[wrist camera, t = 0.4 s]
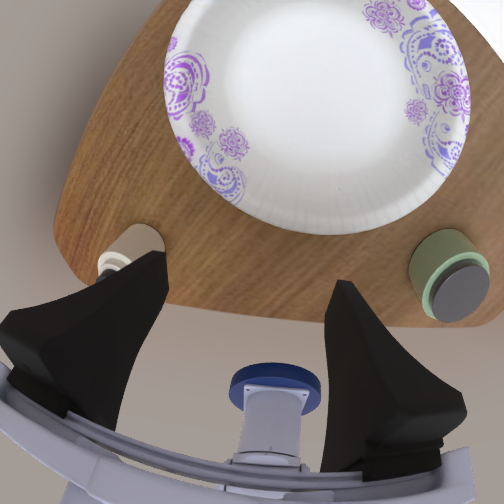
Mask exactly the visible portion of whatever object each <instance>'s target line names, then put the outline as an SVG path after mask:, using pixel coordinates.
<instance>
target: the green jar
mask: <svg viewBox="0 0 504 504" xmlns="http://www.w3.org/2000/svg"><path fill="white" fill-rule="evenodd" d="M409 278H410V281H411V283H412V285H413V288H414V290H415V292H416V294H417V296H418V298H419V300H420V303H421V305H422V307H423V309H424V311H425V313H426V314H427V315H428V316H430V317H431V318H434V319H437V320H439V321H441V322H445V323H451V322H456V321H459V320H461V319H463V318H465V317H467V316H468V315H470V314H471V313H472V312H473V311H475V310H476V309H477V308H478V307H479V305H480V304H481V303H482V301H483V300H484V298H485V296H486V294H487V292H488V288H489V265H488V262H487V260H486V259H485V257H484V256H483V255H482V254H481V253H480V252H479V250H478V249H477V248H476V247H475V246H474V245H473V244H472V242H471V241H470V240H469V239H468V238H467V237H466V236H465V235H464V234H463V233H462V232H460V231H458V230H455V229H443V230H439V231H437V232H435V233H433V234H431V235H429V236H428V237H427V238H425V239H424V240H423V241H422V242H421V243H420V244H419V246H418V247H417V248H416V250H415V251H414V253H413V255H412V258H411V260H410V264H409Z"/></svg>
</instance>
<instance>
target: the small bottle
mask: <svg viewBox="0 0 504 504" xmlns="http://www.w3.org/2000/svg"><path fill="white" fill-rule="evenodd" d="M152 250H156V251H162V252H165V245H164V241H163V239H162V237H161V236H160V234H159V233H158V232H157V231H156V230H155V229H153V228H152V227H150V226H148V225H146V224H134V225H131V226H130V227H129V228H128V229H127V230H126V231H125V232H124V233H123V234H122V235H121V236H119V237H118V238H117V239H116V240H115V241H114V242H113V243H112V245H111V246H110V247H109V248H108V249H107V250H106V251H105V252H104V253H103V254H102V255H101V256H100V258H99V260H98V270H99V277H98V278H97V279H96V283H97V282H99V281H101V280H103V279H104V278H106V277H108V276H110V275H111V274H113V273H115V272H117V271H118V270H120V269H122V268H123V267H125V266H127V265H128V264H130V263H131V262H133V261H135V260H136V259H138V258H140V257H141V256H143V255H145V254H146V253H148V252H150V251H152Z"/></svg>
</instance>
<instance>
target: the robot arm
mask: <svg viewBox="0 0 504 504" xmlns="http://www.w3.org/2000/svg"><path fill="white" fill-rule="evenodd" d="M168 291H169V284H168V274H167V263H166V252H162V251H156V250H152V251H150V252H148V253H146V254H145V255H143V256H141V257H140V258H138V259H136V260H135V261H133V262H131V263H130V264H128V265H127V266H125V267H123V268H122V269H120V270H118V271H117V272H115V273H113V274H111V275H110V276H108V277H106V278H104V279H103V280H101V281H99V282H97V283H95V284H93V285H91V286H89V287H87V288H85V289H83V290H81V291H79V292H77V293H74V294H71V295H68V296H66V297H63V298H61V299H58V300H55V301H52V302H49V303H45V304H41V305H38V306H34V307H29V308H24V309H18V310H13V311H10V312H9V314H8V315H7V316H6V317H5V319H4V320H3V321H2V322H1V324H0V346H1V348H2V349H3V350H4V352H5V353H6V355H7V356H8V358H9V359H10V360H11V362H12V363H13V365H14V368H13V369H12V371H11V370H10V369H9V368H8V367H7V366H6V365H5V364H3V363H2V362H0V430H1V431H2V432H3V433H4V434H6V435H7V436H8V437H9V438H10V439H11V440H13V441H14V442H15V443H16V444H17V445H19V446H20V447H21V448H23V449H24V450H25V451H26V452H28V453H29V454H30V455H32V456H33V457H34V458H36V459H37V460H38V461H40V462H41V463H43V464H44V465H45V466H47V467H48V468H50V469H51V470H53V471H54V472H56V473H57V474H59V475H61V476H62V477H64V478H65V479H67V480H69V481H68V484H67V487H66V489H65V492H64V495H63V497H62V500H61V503H60V504H466V503H468V502H471V501H473V500H475V498H476V494H475V484H474V477H473V471H472V463H471V458H470V453H469V447H463V448H459V449H456V450H452V451H448V452H446V453H443V454H441V455H440V449H439V448H441V447H443V445H444V443H443V437H444V436H446V435H447V434H448V433H450V432H451V431H452V430H454V429H455V428H456V427H458V426H459V425H460V424H461V423H462V422H463V421H464V419H465V418H466V416H467V410H466V406H465V403H464V400H463V396H462V393H461V392H459V391H458V390H456V389H455V388H453V387H451V386H450V385H448V384H447V383H445V382H443V381H442V380H441V379H439V378H438V377H437V376H435V375H434V374H432V373H431V372H430V371H429V370H428V369H426V368H425V367H424V366H423V365H421V364H420V363H419V362H418V361H417V360H416V359H415V358H414V357H413V356H411V355H410V354H409V353H408V352H407V351H406V350H405V349H404V348H403V347H402V346H401V345H400V344H399V342H398V341H397V340H396V339H395V338H394V337H393V336H392V335H391V334H390V332H389V331H388V330H387V329H386V327H385V326H384V325H383V324H382V323H381V321H380V320H379V319H378V317H377V316H376V315H375V313H374V312H373V311H372V309H371V308H370V307H369V305H368V304H367V302H366V301H365V300H364V298H363V297H362V295H361V294H360V293H359V291H358V290H357V288H356V287H355V286H354V284H353V283H352V282H351V281H345V280H338V279H337V282H336V285H335V288H334V291H333V294H332V297H331V300H330V302H329V305H328V308H327V311H326V313H325V326H324V327H325V328H324V331H325V332H324V335H325V336H324V337H325V347H326V357H327V367H328V378H329V403H328V418H327V430H326V437H325V445H324V452H323V458H322V463H321V468H320V473H310V468H309V467H308V466H306V464H301V465H300V457H299V447H300V446H299V445H300V430H301V429H300V428H301V413H302V410H303V408H304V405H305V403H306V400H307V398H308V395H309V389H303V388H288V387H276V386H266V385H257V384H248V383H247V384H245V385H244V419H243V424H242V430H241V436H240V441H239V447H238V452H237V453H234V455H233V459H227V460H226V461H225V462H224V463H218V462H212V461H208V460H203V459H199V458H194V457H190V456H186V455H183V454H179V453H175V452H171V451H168V450H165V449H162V448H158V447H155V446H152V445H149V444H146V443H143V442H140V441H137V440H134V439H132V438H129V437H127V436H124V435H121V434H119V433H116V432H115V429H116V424H117V419H118V415H119V410H120V406H121V402H122V399H123V395H124V392H125V388H126V385H127V382H128V379H129V376H130V373H131V370H132V367H133V365H134V362H135V359H136V357H137V354H138V352H139V350H140V348H141V346H142V344H143V342H144V340H145V338H146V337H147V335H148V333H149V331H150V329H151V327H152V326H153V324H154V322H155V320H156V318H157V316H158V315H159V312H160V311H161V309H162V306H163V304H164V302H165V299H166V296H167V294H168ZM104 448H105V449H104ZM106 449H107V450H106ZM108 450H109V451H108ZM110 451H111V452H110ZM112 452H114V453H116V454H119V455H121V456H124V457H126V458H129V459H131V460H134V461H137V462H140V463H143V464H145V465H148V466H151V467H154V468H157V469H160V470H163V471H167V472H170V473H174V474H178V475H181V476H185V477H189V478H193V479H197V480H202V481H206V482H211V483H216V489H212V488H208V487H203V486H199V485H195V484H191V483H186V482H183V481H179V480H176V479H172V478H168V477H165V476H162V475H158V474H155V473H151V472H148V471H145V470H143V469H140V468H137V467H134V466H132V465H129V464H126V463H124V462H123V461H121V460H120V459H119V457H118V456H117V455H115V454H114V453H112Z"/></svg>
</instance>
